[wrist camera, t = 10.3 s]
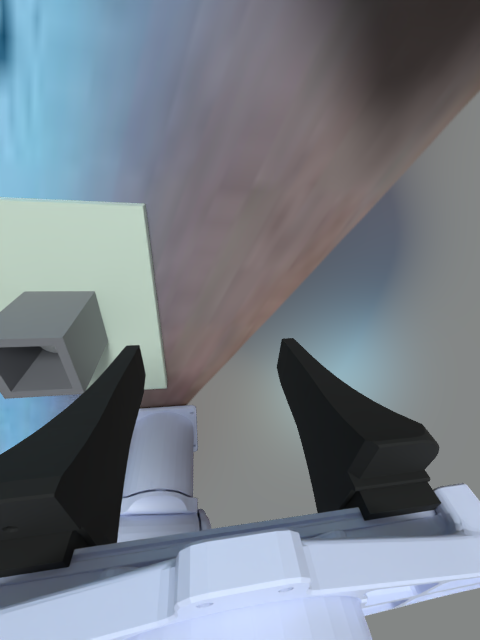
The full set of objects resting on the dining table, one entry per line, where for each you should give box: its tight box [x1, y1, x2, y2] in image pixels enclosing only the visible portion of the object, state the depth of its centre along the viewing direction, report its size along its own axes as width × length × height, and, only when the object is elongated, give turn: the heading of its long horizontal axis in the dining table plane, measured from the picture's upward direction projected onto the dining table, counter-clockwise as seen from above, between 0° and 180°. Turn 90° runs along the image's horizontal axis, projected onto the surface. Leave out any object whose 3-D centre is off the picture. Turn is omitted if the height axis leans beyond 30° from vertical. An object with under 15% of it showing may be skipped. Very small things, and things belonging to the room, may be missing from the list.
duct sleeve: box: [0, 291, 108, 399], centre depth 19 cm, size 5×5×6 cm
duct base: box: [0, 197, 167, 390], centre depth 21 cm, size 18×14×4 cm
